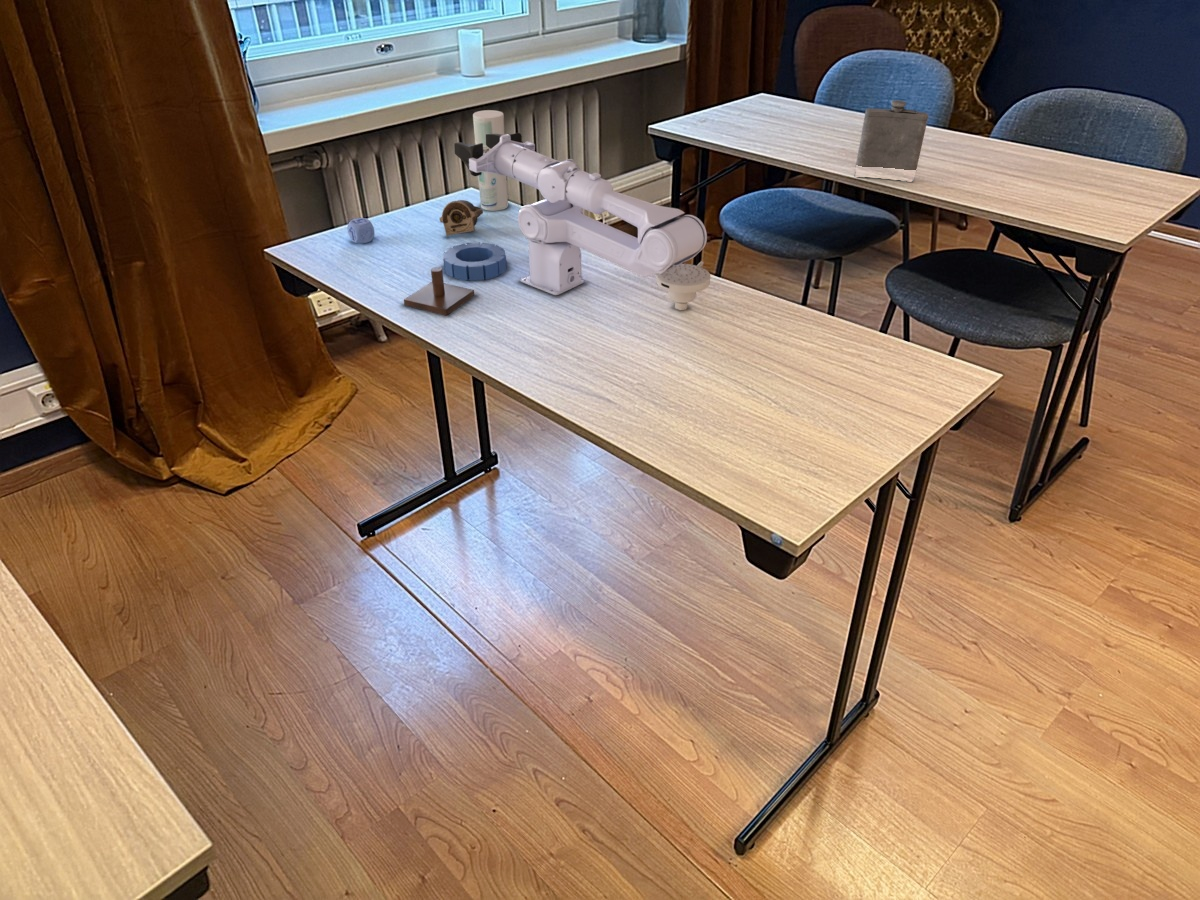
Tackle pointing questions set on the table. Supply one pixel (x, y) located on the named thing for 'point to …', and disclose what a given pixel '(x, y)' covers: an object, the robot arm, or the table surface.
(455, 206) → the mechanical counter
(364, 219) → the decorative dice
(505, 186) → the spray can
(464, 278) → the ring
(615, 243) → the robot arm
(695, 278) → the showerhead
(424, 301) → the brown peg stand
